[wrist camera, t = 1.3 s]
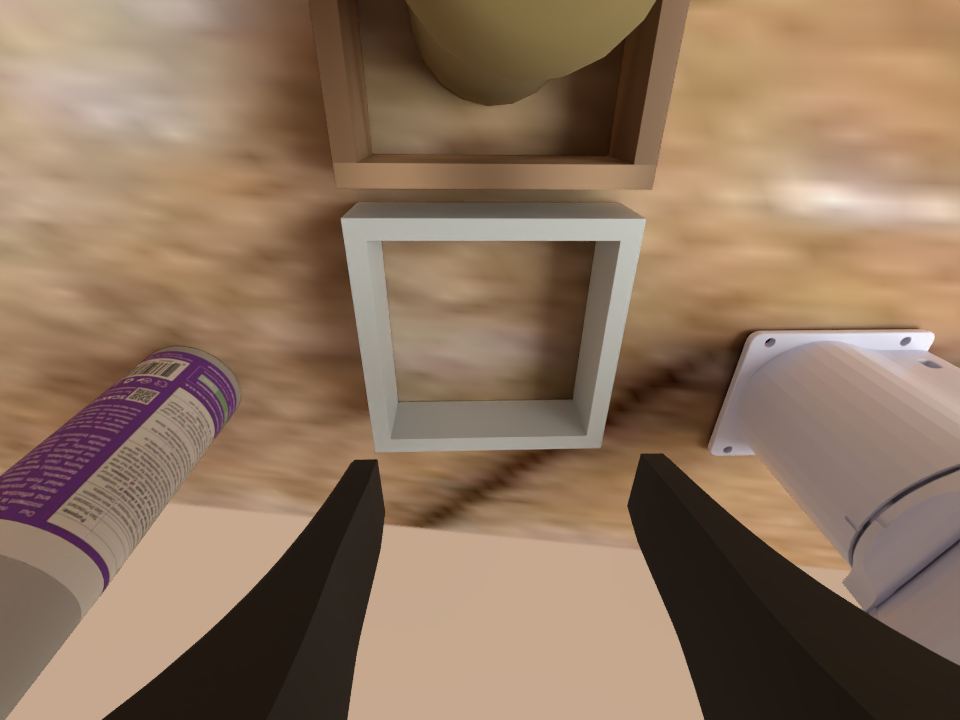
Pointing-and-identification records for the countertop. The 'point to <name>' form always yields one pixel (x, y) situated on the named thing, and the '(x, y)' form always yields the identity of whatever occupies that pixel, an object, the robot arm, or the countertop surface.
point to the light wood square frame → (623, 169)
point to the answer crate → (508, 418)
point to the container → (97, 500)
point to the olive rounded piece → (516, 41)
